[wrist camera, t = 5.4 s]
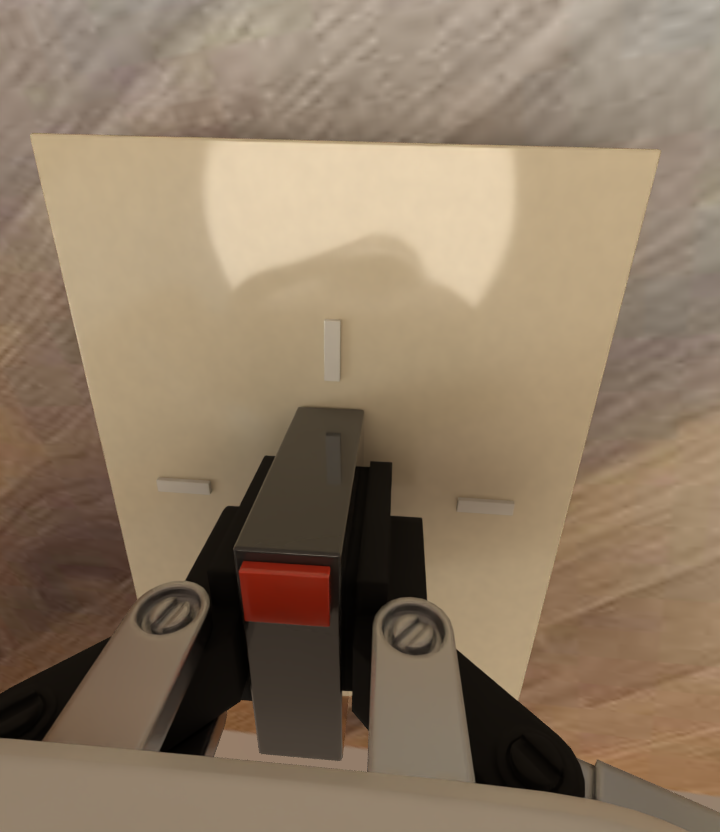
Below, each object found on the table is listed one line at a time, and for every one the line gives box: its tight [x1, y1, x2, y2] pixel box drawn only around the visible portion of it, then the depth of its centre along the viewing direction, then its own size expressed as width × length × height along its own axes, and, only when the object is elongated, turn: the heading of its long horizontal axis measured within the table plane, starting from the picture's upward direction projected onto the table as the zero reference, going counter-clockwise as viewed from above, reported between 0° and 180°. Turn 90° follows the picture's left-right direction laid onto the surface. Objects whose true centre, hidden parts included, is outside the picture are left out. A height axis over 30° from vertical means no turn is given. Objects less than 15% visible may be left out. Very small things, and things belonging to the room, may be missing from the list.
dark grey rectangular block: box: [233, 407, 365, 761], centre depth 10 cm, size 5×2×5 cm, turn 179°
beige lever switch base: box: [30, 133, 661, 701], centre depth 14 cm, size 16×12×3 cm
